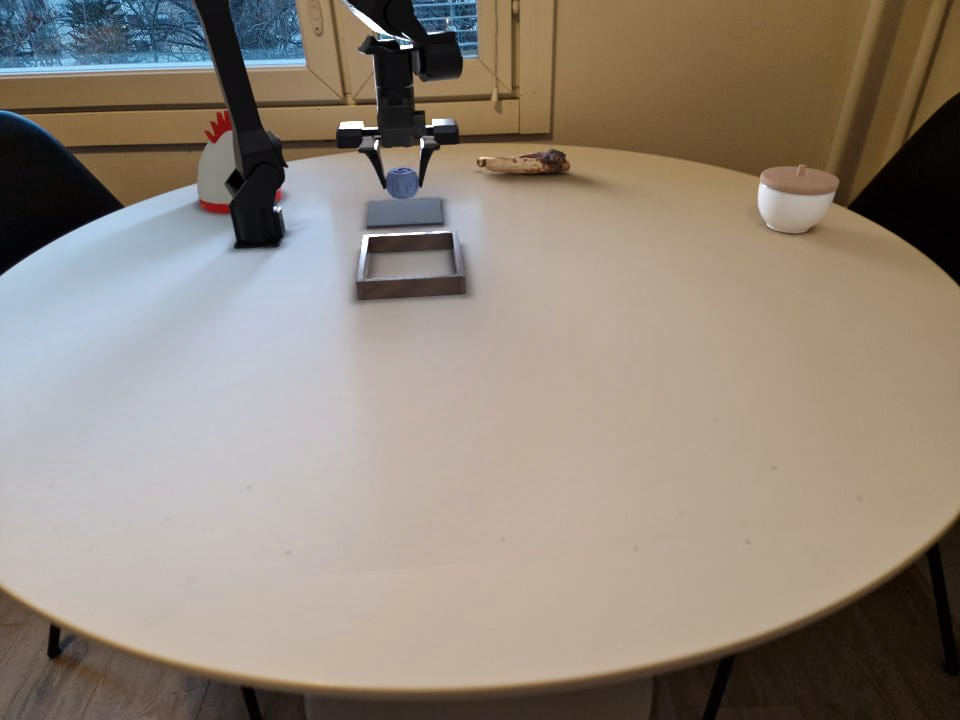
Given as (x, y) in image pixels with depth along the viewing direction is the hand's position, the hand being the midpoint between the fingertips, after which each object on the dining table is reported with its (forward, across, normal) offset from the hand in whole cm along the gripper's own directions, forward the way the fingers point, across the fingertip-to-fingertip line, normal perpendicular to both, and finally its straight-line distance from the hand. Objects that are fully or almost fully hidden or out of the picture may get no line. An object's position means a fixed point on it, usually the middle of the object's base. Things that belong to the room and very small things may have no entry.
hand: (402, 187), depth 105 cm
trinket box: (+4, +59, -14) cm, 61 cm away
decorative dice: (+1, 0, 0) cm, 1 cm away
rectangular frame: (+4, +1, -23) cm, 23 cm away
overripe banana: (+4, +23, +21) cm, 32 cm away
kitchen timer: (+5, -29, +11) cm, 31 cm away
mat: (+4, 0, 0) cm, 4 cm away
